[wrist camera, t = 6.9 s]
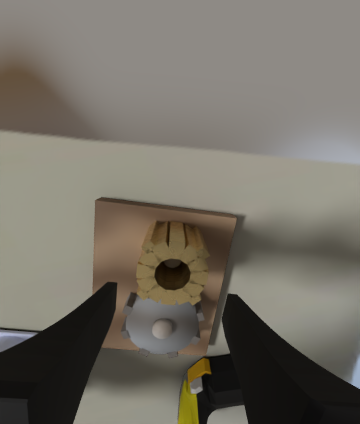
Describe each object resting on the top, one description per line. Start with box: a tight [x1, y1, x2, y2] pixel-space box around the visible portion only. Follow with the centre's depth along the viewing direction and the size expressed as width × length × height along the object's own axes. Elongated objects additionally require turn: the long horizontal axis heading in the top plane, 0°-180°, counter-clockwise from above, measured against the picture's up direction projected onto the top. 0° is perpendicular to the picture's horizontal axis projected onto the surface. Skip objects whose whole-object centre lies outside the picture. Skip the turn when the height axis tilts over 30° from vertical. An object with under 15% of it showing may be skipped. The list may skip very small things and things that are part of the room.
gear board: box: [93, 197, 237, 358], centre depth 20 cm, size 18×14×4 cm
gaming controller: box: [178, 355, 244, 424], centre depth 24 cm, size 15×6×10 cm
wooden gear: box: [136, 221, 210, 306], centre depth 17 cm, size 6×6×5 cm
